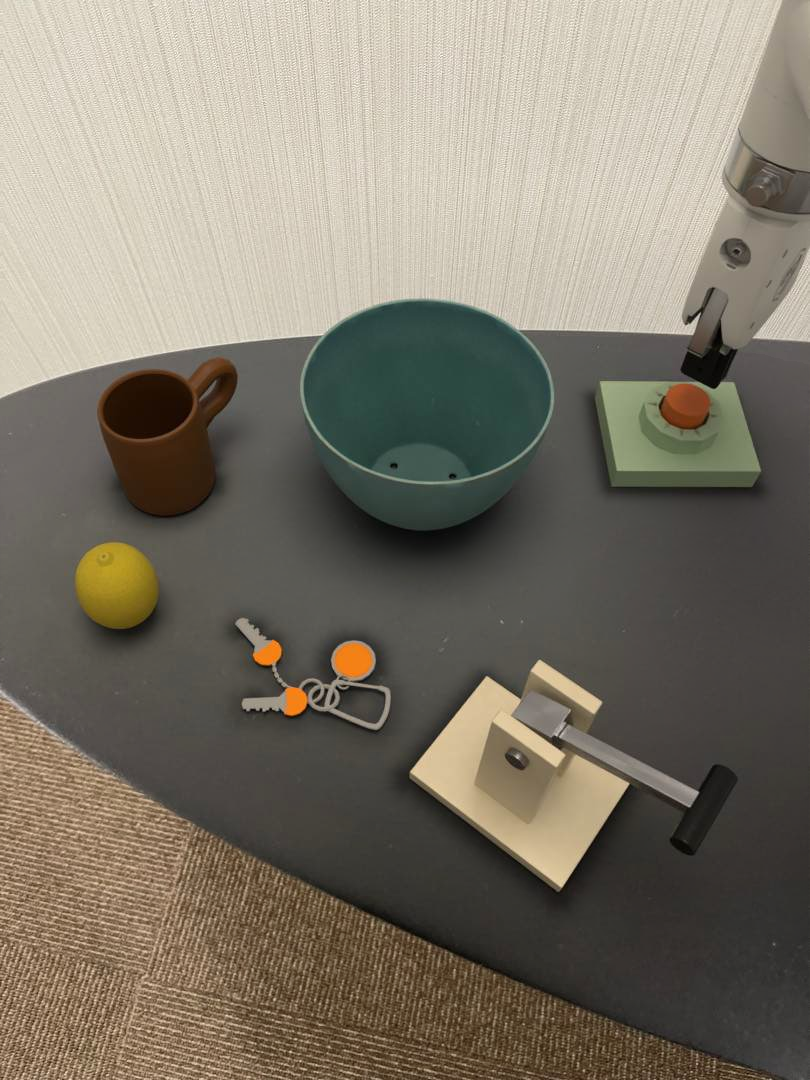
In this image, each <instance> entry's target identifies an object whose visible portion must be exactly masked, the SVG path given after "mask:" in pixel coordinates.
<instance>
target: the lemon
mask: <svg viewBox="0 0 810 1080" xmlns="http://www.w3.org/2000/svg"><path fill="white" fill-rule="evenodd" d="M74 585H75V593H76V598H77V600H78V602H79V604H80V606H81V608H82V610H83V611H84V613H86V614H87V616H88V617H89V618H90V619H91V620H93V621H94V622H95V623H97V624H98V625H101V626H102V627H105V628H109V629H114V630H115V629H116V630H124V629H130V628H132V627H135V626H138V625H140V624H141V623H143V622H144V621H145V620H146V619H147V618H148V617H149V616H150V615H151V614H152V613H153V610H154V609H155V608H156V605H157V603H158V598H159V594H160V591H159V589H160V588H159V578H158V576H157V573H156V571H155V568H154V566H153V565H152V563H151V562H150V561H149V558H147V557H146V556H145V555H144V553H142V552H141V551H140V550H139V549H137V548H135V547H134V546H132V545H130V544H127V543H123V542H116V541H114V542H105V543H101V544H99V545H96V546H95V547H92V548H91V549H89V550H88V551H87V552H86V553H85V555H83V556H82V558H81V559H80V561H79V563H78V565H77V568H76V572H75V576H74Z"/></svg>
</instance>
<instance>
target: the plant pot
mask: <svg viewBox="0 0 810 1080" xmlns="http://www.w3.org/2000/svg"><path fill="white" fill-rule="evenodd" d="M554 388H555V387H554V383H553V377H552V374H551V372H550V369H549V366H548V364H547V362H546V360H545V358H544V357H543V355H542V353H541V352H540V351H539V349H538V348H537V347H536V345H534V343H533V342H532V341H531V340H530V339H529V338H528V337H527V336H526V335H525V334H524V333H523V332H521V331H520V330H519V329H518V328H516V327H515V326H514V325H512V324H511V323H509V322H508V321H506V320H505V319H503V318H501V317H499V316H498V315H495V314H493V313H491V312H489V311H486V310H485V309H481V308H478V307H476V306H473V305H469V304H465V303H461V302H457V301H453V300H448V299H438V298H420V297H419V298H404V299H396V300H390V301H386V302H382V303H378V304H374V305H371V306H368V307H366V308H363V309H361V310H359V311H356V312H354V313H351V314H350V315H348V316H346V317H345V318H343V319H342V320H340V321H338V322H337V323H336V324H334V325H333V326H332V327H330V328H329V329H328V330H327V331H325V332H324V333H323V334H322V335H321V336H320V337H319V338H318V339H317V341H316V342H315V344H314V345H313V346H312V348H311V350H310V351H309V353H308V355H307V357H306V359H305V361H304V365H303V368H302V371H301V375H300V382H299V393H300V402H301V408H302V414H303V417H304V421H305V425H306V428H307V431H308V435H309V437H310V439H311V442H312V444H313V448H314V449H315V451H316V453H317V455H318V458H319V459H320V462H321V463H322V465H323V467H324V468H325V470H326V471H327V474H328V475H329V476H330V478H331V479H332V480H333V482H334V483H335V484H336V485H337V487H338V488H339V489H340V490H341V491H342V493H344V495H345V496H346V497H347V498H348V499H350V500H351V502H352V503H353V504H355V505H356V506H357V507H358V508H360V509H361V510H362V511H364V512H366V513H367V514H369V515H370V516H371V517H373V518H376V519H377V520H379V521H381V522H383V523H386V524H388V525H391V526H394V527H397V528H401V529H405V530H411V531H412V530H413V531H436V530H442V529H443V530H444V529H447V528H451V527H454V526H457V525H461V524H463V523H465V522H467V521H470V520H472V519H475V517H477V516H479V515H481V514H483V513H484V512H485V511H487V510H489V508H491V507H492V506H493V505H495V504H496V503H497V502H499V500H501V499H502V498H503V497H504V496H505V495H506V494H507V493H508V492H509V491H510V490H511V489H512V488H513V487H514V486H515V484H516V483H517V482H518V481H519V479H520V478H521V477H522V475H523V474H524V473H525V472H526V470H527V468H528V467H529V465H530V464H531V462H532V461H533V460H534V458H535V456H536V454H537V452H538V450H539V448H540V446H541V445H542V442H543V440H544V438H545V435H546V433H547V430H548V428H549V424H550V422H551V418H552V415H553V411H554V407H555V389H554ZM392 465H396V466H397V467H396V468H392V467H391V466H392ZM451 475H454V476H455V478H451V477H450V476H451Z"/></svg>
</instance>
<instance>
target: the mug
mask: <svg viewBox="0 0 810 1080" xmlns="http://www.w3.org/2000/svg"><path fill="white" fill-rule="evenodd" d="M238 379H239V378H238V372H237V367H236V365H234V364H233V362H232V361H230V360H229V358H228V359H227V358H225V357H220V356H217V357H213V358H209V359H208V360H206V361H204V362H203V363H201V364H200V365H199V366H198V367H197V368H196V369H195V371H194V372H193V373H192V374H191V375H190V376H189V378H188V379H187V378H185V377H184V376H183V375H180V374H178V373H177V372H174V371H170V370H166V369H159V368H150V369H149V368H147V369H141V370H140V369H139V370H136V371H133V372H130V373H127V374H125V375H123V376H121V377H119V378H118V379H116V380H115V381H113V382H112V383H111V384H110V385H108V387H107V388H106V389H105V390H104V391H103V392H102V394H101V396H100V399H99V401H98V404H97V409H96V410H97V412H96V413H97V419H98V422H99V427H100V432H101V435H102V438H103V441H104V444H105V447H106V450H107V452H108V454H109V458H110V460H111V463H112V466H113V468H114V470H115V473H116V475H117V478H118V481H119V484H120V486H121V489H122V491H123V492H124V494H125V496H126V498H127V500H128V501H129V502H130V503H131V504H132V505H133V506H134V507H136V508H137V509H138V510H140V511H142V512H145V513H147V514H150V515H155V516H162V517H163V516H164V517H165V516H175V515H179V514H183V513H186V512H188V511H190V510H192V509H194V508H196V507H197V506H199V505H200V504H201V503H203V501H204V500H205V499H206V498H207V497H208V496H209V495H210V493H211V491H212V489H213V487H214V484H215V480H216V466H215V460H214V456H213V451H212V446H211V440H210V436H209V432H208V428H209V426H210V425H211V424H212V422H213V420H214V419H215V418H216V417H217V415H219V414H220V413H221V412H222V411H223V410H224V409H225V408H226V407H227V406H228V405H229V403H230V402H231V400H232V398H233V397H234V395H235V393H236V389H237V386H238ZM214 382H215V384H214ZM213 384H214V386H213V388H212V389H211V391H210V392H209V393H208V394H207V395H206V396H204V394H205V393H206V392H207V391H208V390H209V389H210V387H211V386H212V385H213ZM203 396H204V397H203ZM202 397H203V398H202ZM201 398H202V399H201ZM200 399H201V400H200Z"/></svg>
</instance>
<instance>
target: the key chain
mask: <svg viewBox="0 0 810 1080" xmlns="http://www.w3.org/2000/svg"><path fill="white" fill-rule="evenodd" d="M249 622H250V620H249V618H245V617H241V618H238V619H237V620H236V621H235V622H234V625H235V626H236V627H237V628H238V629H239V631H240V632H241V633H242V634H243V635H244V636H245V637H246V639H248V641H250V643H251V644H252V645H253V646H254V648H253V649H254V650H253V653H252V657H253V660H254V661H255V663H257V664H259V665H260V666H267V667H270V666H271V667H272V668H271V669H272V673H273V676H274V678H275V679H276V681H277V682H278V684H281V685H280V686H281V687H283V688H284V691H282V693H281V694H280V695H279V696H268V697H266V696H265V697H248V698H242V702H241V706H242V709H243V710H246V712H251V710H255V712H260V711H261V710H262V713H266V712H267V711H270V709H271V710H272V711H275V712H279V711H280V710H281V712H283V715H284V716H289V717H294V716H298V715H300V714H302V712H304V711H305V710H306V708H307V705H309V706H310V707H311V708H312V709H314V710H316V711H318V712H329V713H331V714H333V715H335V716H337V717H340V718H341V719H344V720H347V721H348V722H351V723H354V724H356V725H358V726H361V727H364V728H366V729H369V730H374V731H377V730H380V729H381V728H382V727H383V725H384V724H385V722H386V720H387V718H388V716H389V713H390V711H391V710H390V709H391V700H392V695H391V694H392V693H391V690H390V688H389V687H386V686H384V685H381V684H380V685H372V684H367V683H361V682H362V681H364V680H365V679H367V678H369V676H371V675H372V673H373V672H374V670H375V667H376V663H377V659H376V653H375V651H374V650H373V649H372V647H371V646H370V645H368V644H367V643H365V642H364V641H360V640H356V639H354V640H347V641H344V642H342V643H340V644H338V646H336V648H335V649H334V651H333V652H332V655H331V657H330V663H331V669H332V671H334V674H335V675H336V676H337V677H336V679H334V680H333V681H332V682H330V684H328V683H327V684H325V683H323V682H322V681H321V680H320V679H318V678H314V677H312V678H307V679H305V680H302V682H301V683H300V685H299V686H298V687H294V686H291V685H288V684H287V683H286V682H285V681H284V680H283V678H281V677H280V675H279V672H278V669H277V664H278V662H279V660H280V659H281V658H282V652H283V649H282V647H281V645H280V643H279V642H277V641H276V640H275V639H271V640H270V639H268V638H267V637H266V636H263V634H261V633H260V629H259V628H258V627H256V628H255V625H254V624H250V623H249ZM254 628H255V629H254ZM260 634H261V635H260ZM359 682H360V683H359ZM308 683H315V684H317V685H314V686H313V687H312V688H311V689H310V690H309V691H308V693H306V692H305V691H304V690H303V688H304V686H305V685H306V684H308ZM344 685H345V687H343V686H344ZM351 686H352V687H358V688H359V687H360V688H367V689H374V690H378V691H380V692H382V693H384V695H385V702H384V708H383V711H382V714H381V716H380V719H379V721H377V722H376V723H372V722H367V721H365V720H363V719H359V718H357V717H356V716H355V717H354V716H352V715H350V714H348V713H346V712H344V711H341V710H338V709H337V708H336V707H337V706H338V705H339V703H340V700H341V696H340V692H339V691H338V690H337V689H336V687H337V688H338V689H339V690H342V691H343V690H348V689H349V688H350V687H351ZM326 689H327V693H326V696H325V695H324V694H325V690H326ZM318 690H320V692H319V694H318V696H317V697H316V698H314V699H313V695H314V693H315V692H316V691H318ZM333 695H334V700H333V703H331V700H332V697H333ZM324 696H325V700H324V705H323V706H320V705H317V704H316V703H318V702H320V701H321V699H322V698H323V697H324Z"/></svg>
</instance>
